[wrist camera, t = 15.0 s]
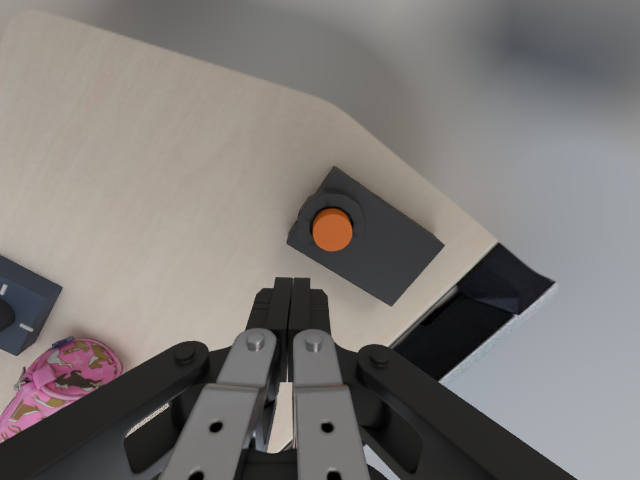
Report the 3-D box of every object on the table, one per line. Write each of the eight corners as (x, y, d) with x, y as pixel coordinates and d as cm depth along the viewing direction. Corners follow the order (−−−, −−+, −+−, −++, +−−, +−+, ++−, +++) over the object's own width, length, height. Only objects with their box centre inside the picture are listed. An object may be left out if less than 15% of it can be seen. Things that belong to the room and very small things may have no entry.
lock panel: (-11, 249, 34) (-36, 259, 32) (65, 288, 36) (47, 300, 34) (-35, 310, 37) (-60, 323, 35) (37, 343, 39) (18, 358, 37)
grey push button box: (282, 229, 34) (277, 246, 29) (328, 161, 31) (330, 168, 27) (385, 292, 37) (395, 316, 33) (434, 235, 35) (452, 252, 30)
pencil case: (72, 318, 38) (4, 373, 29) (139, 356, 40) (93, 416, 32) (7, 415, 43) (-65, 484, 35) (70, 443, 46) (16, 514, 37)
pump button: (305, 231, 29) (304, 238, 27) (326, 200, 28) (327, 206, 26) (335, 249, 30) (337, 258, 28) (357, 221, 29) (360, 228, 27)
